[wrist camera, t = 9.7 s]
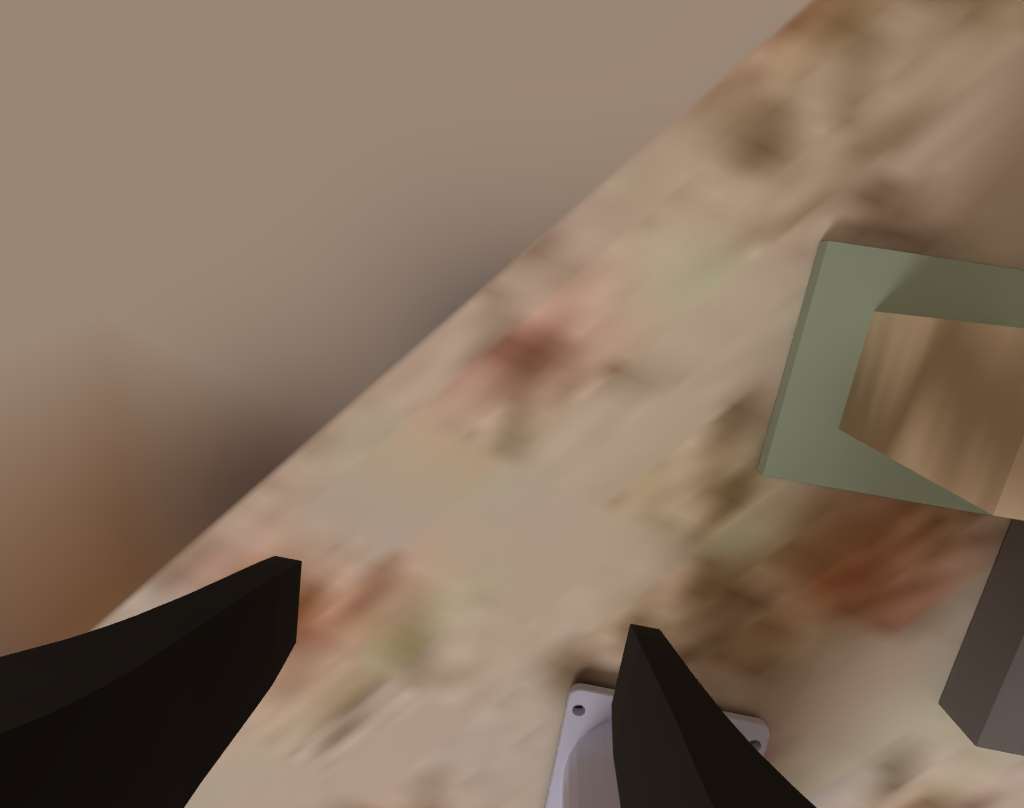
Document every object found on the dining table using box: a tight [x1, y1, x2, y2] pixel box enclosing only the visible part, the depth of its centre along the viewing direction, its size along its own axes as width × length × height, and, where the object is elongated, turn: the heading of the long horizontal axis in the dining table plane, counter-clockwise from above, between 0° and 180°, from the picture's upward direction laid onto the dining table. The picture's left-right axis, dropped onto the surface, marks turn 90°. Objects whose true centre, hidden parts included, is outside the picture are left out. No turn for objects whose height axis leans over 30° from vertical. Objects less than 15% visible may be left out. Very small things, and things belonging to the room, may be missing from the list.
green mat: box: [757, 241, 1024, 517], centre depth 19 cm, size 8×8×1 cm
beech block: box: [838, 311, 1024, 521], centre depth 15 cm, size 4×4×7 cm
